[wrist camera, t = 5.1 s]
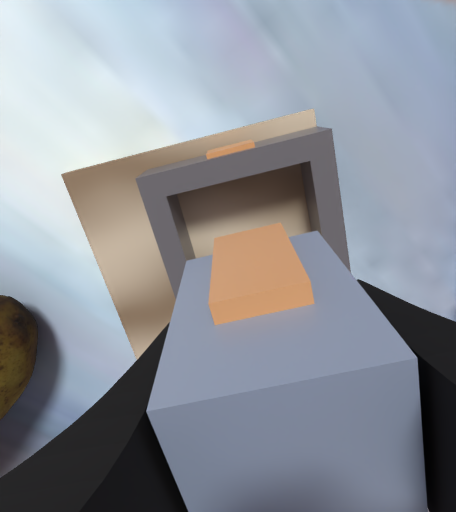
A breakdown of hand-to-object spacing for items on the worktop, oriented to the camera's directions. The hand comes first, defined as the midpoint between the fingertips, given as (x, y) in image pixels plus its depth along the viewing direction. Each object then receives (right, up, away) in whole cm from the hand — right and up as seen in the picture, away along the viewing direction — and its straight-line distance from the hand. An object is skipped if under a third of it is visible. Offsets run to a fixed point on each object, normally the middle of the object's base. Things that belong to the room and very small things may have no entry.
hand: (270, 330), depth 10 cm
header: (0, +3, +9) cm, 9 cm away
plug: (0, +1, +1) cm, 2 cm away
